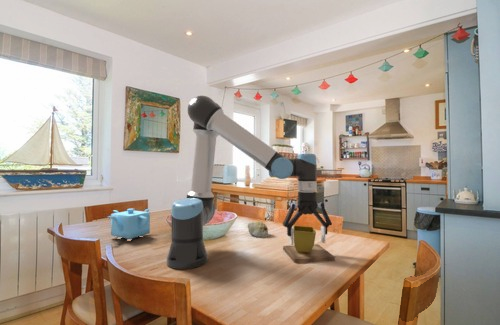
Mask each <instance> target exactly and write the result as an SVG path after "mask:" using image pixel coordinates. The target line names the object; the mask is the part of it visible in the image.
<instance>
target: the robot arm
mask: <svg viewBox="0 0 500 325" xmlns="http://www.w3.org/2000/svg"><path fill="white" fill-rule="evenodd" d="M187 115H188V117H189V118H190V120H191V121H192V122H193V130H192V131H193V132H194V133H195V146H194V156H193V167H192V176H191V187H190V191H188V192H187V193H186V198H182V199H178V200H176V201H174V202H173V203H172V205H171V211H170V214H171V243H170V246H169V250H168V253H167V256H166V266H168V267H169V268H172V269H176V270H186V269H194V268H199V267H201V266H203V265H205V264H206V263H207V262H208V252H207V248H206V245H205V243H204V238H203V237H204V226H205V225H207V224H209V223H210V221H211V220H213V218H214V216H215V213H216V207H215V203H214V202H215V201H214V198H215V195H214V194H213V192H212V186H213V185H212V184H213V174H214V165H215V153H216V147H217V146H216V145H217V137H218V136H220V137H221V138H222V139H225V141H227V142H228V143H230V144H232V146H234V147H235V148H236V149H238V150H239V151H241V152H242V153H244V154H245V155H246V156H248V157H249V158H251V159H252V160H253V161H255V163H258V164H259V165H260V166H262V167H263V168H264V169H265V170H267V171H268V175H269V177H273V178H274V177H275V178H277V179H279V180H286V179H288V178H292V177H293V178H296V177H297V190H298V192H297V203H293V202H291V203H290V205H289V209H288V211H287V214H286V216H285V217H284V220H283V223H282V226H283V227H285V228H286V230H287V231H286V232H287V233H286V234H287V236H288V237H289V244H290V246H294V233H293V226H295V224H296V223H297V221H298V220H299V219H300V218H301V216H302V215H312V214H313V216H315V218H316V219H317V220H318V221H319V223H321V225H320V242H321V243H322V244H326V236H327V235H328V228H329V226H332V223H333V222H332V220H331V219H330V216H329V215H328V213H327V210H326V207H325V203H324V202H319V203H318V199H317V197H318V196H317V195H318V194H317V187H318V185H317V180H318V179H317V178H318V177H317V175H318V174H317V166H318V164H317V155H316V154H315V153H299V154H298V155H297V157H296V158H287V157H285V156H283V155H282V154H281V153H280V152H278V151H276V150H275V149H274V148H272V147H271V146H270V145H269V144H267V143H265V142H264V141H262V140H261V139H260V138H259V137H257V136H256V135H254V134H252V133H251V132H250V131H249V130H247V129H246V128H244V127H243V126H241V124H239V123H237V122H236V121H234V120H233V119H231V118H230V116H228V115H226V114H225V113H224V110H223V109H222V106H220V105H219V104H218V103H216V102H215V101H214V100H213V99H212V98H211V97H208V96H206V95H197V96H195V97H193V98H192V99H191V100H190V101H189V103H188V105H187ZM317 208H319V210H320V212H321V214H322V216H323V217H322V216H321V215H320V214H319V212H318V210H317ZM296 209H298V210H297V211H296ZM295 211H296V213H295V214H294V212H295ZM293 214H294V216H293ZM292 216H293V217H292ZM323 218H324V219H323Z"/></svg>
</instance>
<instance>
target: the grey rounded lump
mask: <svg viewBox="0 0 500 325" xmlns="http://www.w3.org/2000/svg"><path fill="white" fill-rule="evenodd" d="M247 229H248V233H249V234H250V235H252V236H254V237H256V238H259V239H261V238H263V239H264V238H268V237H267V236H269V228H268V226H267V225H266V223H264V222H263V221H251V222H248V223H247Z"/></svg>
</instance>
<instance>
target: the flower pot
mask: <svg viewBox="0 0 500 325" xmlns="http://www.w3.org/2000/svg"><path fill="white" fill-rule="evenodd" d="M292 228H293V246H295V248H296V251H298V252H307V253H309V252H310V251H311V250H312V248H313V246H314V245H315V241H316V240H315V239H316V235H317V234H316V233H317V232H316V229H315V227H314V226H306V225H305V226H303V225H293V226H292Z"/></svg>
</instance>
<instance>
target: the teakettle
mask: <svg viewBox="0 0 500 325" xmlns="http://www.w3.org/2000/svg"><path fill="white" fill-rule="evenodd" d="M150 210H151V208H147V209H144V211H141V210H135V208H127V210H125V211H120V212H119V211H118V210H115V209H114V210H112V211H113V213H111V214H110V215H109V216H107V218H109V219H110V220H111V221H110V226H111V227H110V235H111V236H113V237H116V238H118V237H122V238H123V239H134V238H138V236H144V237H145V235H147V234H148V235H149V234H150V233H151V231H150V230H151V221H150V220H151V216H150V214H151V213H150V212H149V211H150Z"/></svg>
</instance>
